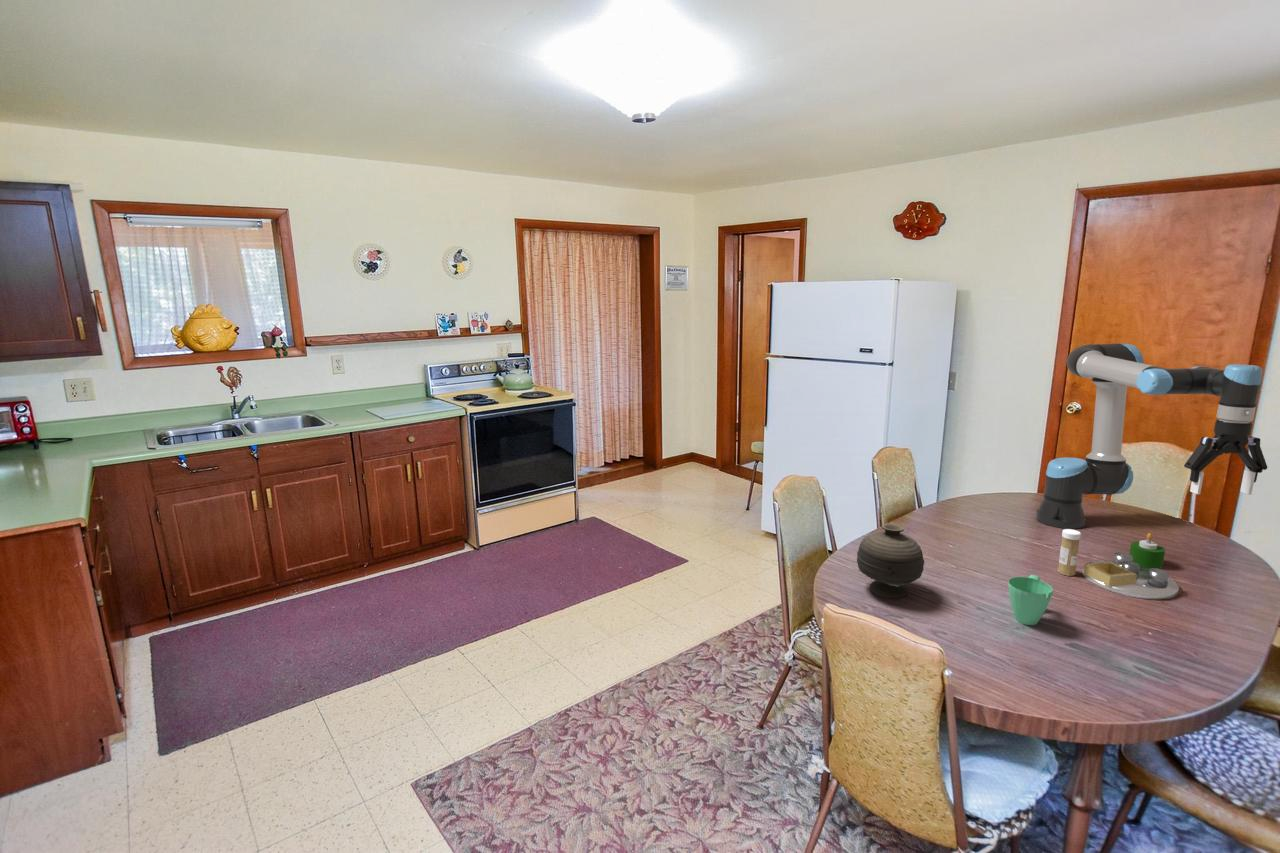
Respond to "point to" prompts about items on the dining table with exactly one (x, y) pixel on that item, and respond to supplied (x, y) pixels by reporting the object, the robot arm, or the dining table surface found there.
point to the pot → (890, 561)
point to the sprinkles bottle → (1069, 552)
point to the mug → (1029, 598)
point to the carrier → (1130, 578)
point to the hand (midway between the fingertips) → (1220, 493)
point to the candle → (1147, 553)
